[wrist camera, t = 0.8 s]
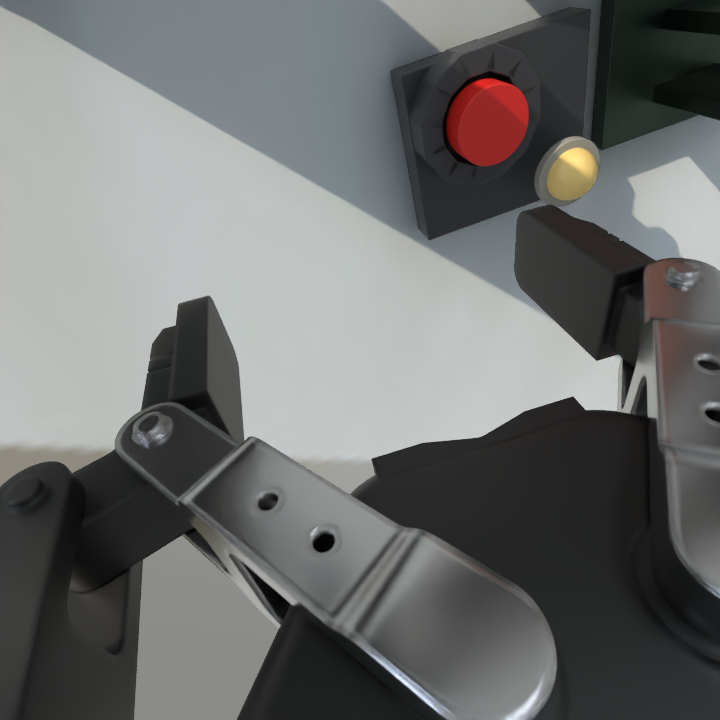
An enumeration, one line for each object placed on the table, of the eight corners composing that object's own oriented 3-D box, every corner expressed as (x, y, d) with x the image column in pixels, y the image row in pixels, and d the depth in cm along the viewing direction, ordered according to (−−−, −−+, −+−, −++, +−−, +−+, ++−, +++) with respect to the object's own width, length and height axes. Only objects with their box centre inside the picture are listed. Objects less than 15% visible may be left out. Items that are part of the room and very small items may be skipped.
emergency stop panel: (388, 61, 26) (411, 71, 23) (570, -3, 27) (616, -1, 24) (418, 229, 33) (439, 253, 30) (562, 176, 33) (598, 196, 30)
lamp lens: (525, 144, 28) (553, 159, 26) (587, 122, 28) (621, 134, 26) (526, 207, 31) (552, 225, 28) (583, 186, 31) (613, 203, 28)
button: (440, 92, 24) (454, 98, 23) (512, 66, 25) (529, 71, 23) (450, 167, 27) (462, 176, 26) (514, 144, 27) (529, 152, 26)
